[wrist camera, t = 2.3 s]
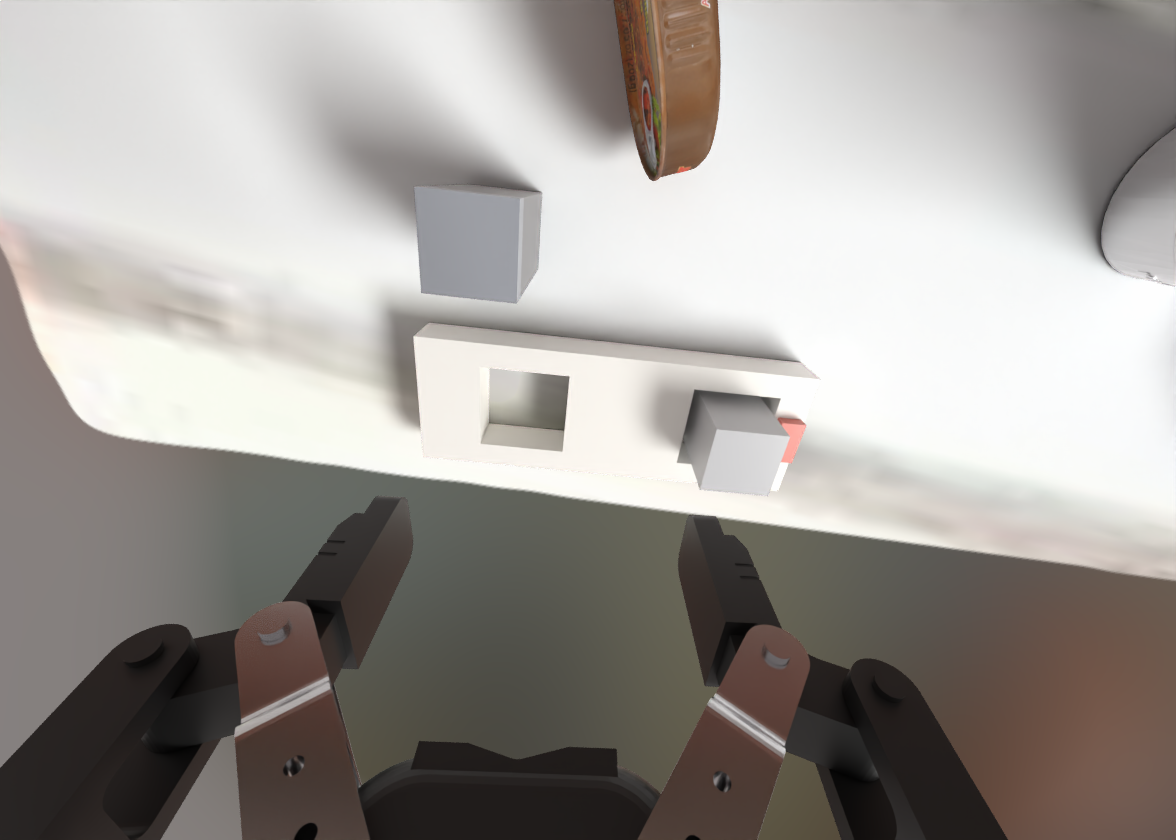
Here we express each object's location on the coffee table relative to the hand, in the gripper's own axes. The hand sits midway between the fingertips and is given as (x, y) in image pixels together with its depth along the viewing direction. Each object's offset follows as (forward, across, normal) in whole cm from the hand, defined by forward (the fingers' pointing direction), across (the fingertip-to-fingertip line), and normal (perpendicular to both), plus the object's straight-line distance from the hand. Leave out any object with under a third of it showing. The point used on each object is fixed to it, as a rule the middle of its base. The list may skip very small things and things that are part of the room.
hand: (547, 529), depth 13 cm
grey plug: (+20, -11, +6) cm, 24 cm away
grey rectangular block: (+20, +4, -6) cm, 21 cm away
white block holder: (+20, -3, +5) cm, 21 cm away
